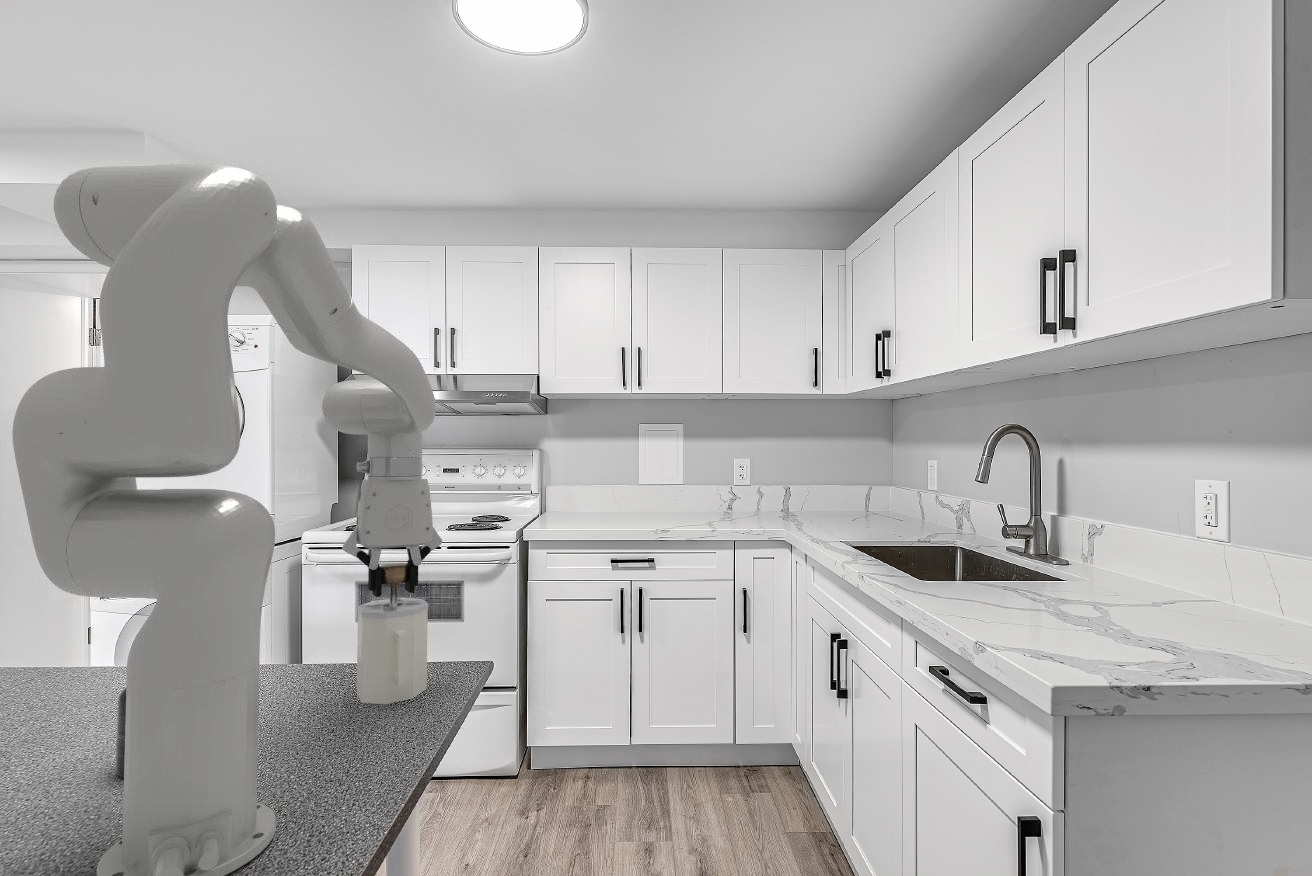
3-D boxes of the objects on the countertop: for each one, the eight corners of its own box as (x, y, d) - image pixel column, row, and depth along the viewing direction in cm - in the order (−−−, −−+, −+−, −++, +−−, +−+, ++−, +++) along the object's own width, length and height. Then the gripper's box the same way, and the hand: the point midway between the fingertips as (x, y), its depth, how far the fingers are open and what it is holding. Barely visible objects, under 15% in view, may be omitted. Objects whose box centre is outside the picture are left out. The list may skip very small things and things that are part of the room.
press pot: (437, 700, 91) (438, 609, 92) (367, 714, 86) (368, 618, 86) (416, 677, 101) (417, 595, 101) (352, 689, 95) (354, 603, 96)
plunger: (409, 685, 94) (411, 566, 94) (380, 690, 92) (382, 568, 92) (403, 677, 97) (404, 562, 98) (375, 682, 95) (376, 565, 95)
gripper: (336, 471, 88) (334, 605, 87) (458, 469, 97) (457, 591, 96) (329, 470, 94) (327, 595, 93) (444, 469, 103) (443, 583, 103)
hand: (393, 591), depth 95 cm, fingers closed on plunger, 4 cm apart
